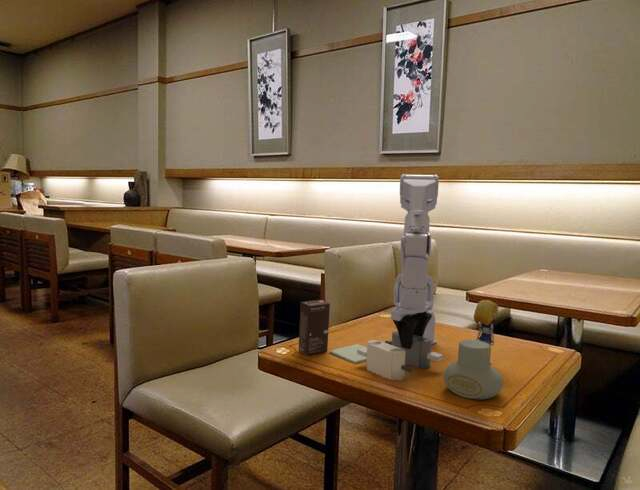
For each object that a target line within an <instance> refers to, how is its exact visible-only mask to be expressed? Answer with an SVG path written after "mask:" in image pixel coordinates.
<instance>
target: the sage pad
mask: <svg viewBox="0 0 640 490" xmlns="http://www.w3.org/2000/svg"><path fill="white" fill-rule="evenodd" d="M361 348H366V349H367V346H364V345H361V344H359V343H355V344H352V345H348V346H344V347H343V346H342V347H340V348H339V347H338V348H334V349H331V350H329V354H332V355H335V356H336V357H339V358H341V359H342V360H343V359H344V360H346V361H348V362H350V363H353V364H355V365H356V364H360V363H364V362H366V357H364V356H361V355H359V354H357V349H361Z"/></svg>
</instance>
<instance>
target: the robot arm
mask: <svg viewBox="0 0 640 490" xmlns="http://www.w3.org/2000/svg"><path fill="white" fill-rule="evenodd" d="M399 177H400V180H399V196H400V197H399V198H400V199H399V201H400V202H399V203H400V207H401V209H403V210H405V211H406V212H407V214H405V217H404V226H403V235H401V237H400V238H401V239H400V249H399V251H400V252H399V253H400V263H401V264H400V266H401V273H400V274H398V275H397V276H396V277H395V284H394V293H393V304H394V306H395V308H394V309H393V310H390V311H391V313H390V319H391V320H392V322H393V323H394V325H395V327H396V331H398V334H399V338H400V343H401V347H402V348H406V349H411V346H412V340H413V335H417V336H421V337H425V338H429V339H430V340H431V341H432V342H431V345H434V344H437V340H435V331H436V317H435V314H434V311H433V308H434V295H435V291H434V288H435V287H434V283H435V282H434V279H433V277H432V276H430V275H429V274H428V272H429V271H428V270H429V259H430V258H431V252H432V236H431V235H432V234H431V231H430V221H431V220H430V216H429V212H431V211H433V210H436V206H437V202H438V197H439V187H440V186H439V181H440V179H439V178H440V177H439V176H438V174H405V173H402V175H400V176H399ZM427 256H428V257H427ZM427 258H428V259H427ZM390 342H392V338H391V339H390Z"/></svg>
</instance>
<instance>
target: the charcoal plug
mask: <svg viewBox="0 0 640 490" xmlns="http://www.w3.org/2000/svg"><path fill="white" fill-rule="evenodd" d="M391 339H392V342H391V341H389V340H385V341H384V343H387V344H390V345H393V346H396V347H398V348H401V349H404V350H405V365H408V366H412V367H415V368H419V369H429V368H431V361H435V362H439V361H442V360H443V359H444V358H443V357H444V355H443V354H442V353H439V352H435V351H432V344H431V342H432V341H431V340H430V339H429V338H425V337H421V336H417V335H413V340H412V346H411V349H406V348H402V347H401V343H400V338H399V334H398V330H396V331H393V332H391Z"/></svg>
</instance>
